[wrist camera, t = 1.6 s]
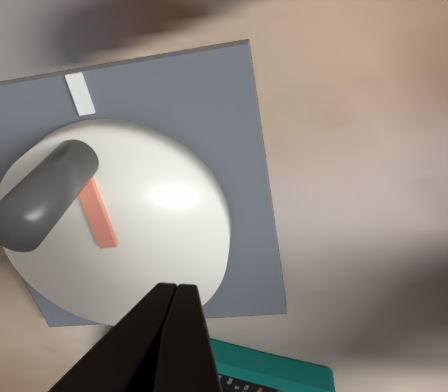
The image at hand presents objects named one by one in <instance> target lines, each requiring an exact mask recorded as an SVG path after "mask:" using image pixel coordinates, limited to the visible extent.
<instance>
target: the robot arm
mask: <svg viewBox="0 0 448 392" xmlns="http://www.w3.org/2000/svg"><path fill="white" fill-rule="evenodd" d="M48 392H223V391H222V387H221V383H220V379H219V375H218V370H217V366H216V362H215V358H214V354H213V349H212V345H211V341H210V337H209V333H208V328H207V324H206V320H205V316H204V312H203V307H202V303H201V299H200V295H199V291H198V287H197V285H195V284H183V283H181V284H179V285H177V284H176V283H167V282H159V283H157V284H156V285H155V286H154V287H153V288H152V289H151V290H150V291H149V292H148V293H147V294H146V295H145V296H144V297H143V298H142V299H141V300H140V301H139V302H138V303H137V304H136V305H135V306H134V307H133V308H132V309H131V310H130V311H129V312H128V313H127V314H126V315H125V316H124V317H123V318H122V319H121V320H120V321H119V322H118V323H117V324H116V325H115V326H114V327H113V328H112V329H111V330H110V331H109V332H108V333H107V334H106V335H105V336H104V337H103V338H102V339H101V340H100V341H98V342H97V343H96V344H95V345H94V346H93V347H92V348H91V349H90V350H89V351H88V352H87V353H86V354H85V355H84V356H83V357H82V358H81V359H80V360H79V361H78V362H77V363H76V364H75V365H74V366H73V367H72V368H71V369H70V370H69V371H68V372H67V373H66V374H65V375H64V376H63V377H62V378H61V379H60V380H59V381H58V382H57V383H56V384H55V385H54V386H53V387H52V388H51V389H50V390H49V391H48Z"/></svg>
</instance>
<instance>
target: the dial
mask: <svg viewBox="0 0 448 392" xmlns="http://www.w3.org/2000/svg"><path fill="white" fill-rule="evenodd" d="M230 239H231V216H230V210H229V206H228V202H227V199H226V196H225V194H224V192H223V190H222V187H221V185H220V184H219V182H218V181H217V179H216V177H215V176H214V174H213V173H212V172H211V170H210V169H209V168H208V167H207V165H206V164H205V163H204V162H203V161H202V160H201V159H200V158H199V157H198V156H197V155H196V154H195V153H194V152H193V151H191V150H190V149H189V148H187V147H186V146H185V145H183V144H182V143H181V142H179V141H177V140H176V139H174V138H172V137H171V136H169V135H167V134H165V133H163V132H161V131H159V130H156V129H154V128H152V127H149V126H146V125H142V124H139V123H136V122H131V121H125V120H119V119H90V120H84V121H79V122H75V123H71V124H69V125H66V126H63V127H61V128H59V129H57V130H55V131H53V132H52V133H50V134H48V135H47V136H46V137H44V138H43V139H42V140H41V141H40V142H38V143H37V144H36V145H35V146H34V147H32V148H31V149H30V150H29V151H28V152H26V153H25V154H24V155H23V156H22V157H20V158H19V159H18V160H17V161H16V162H15V163H14V164H13V165H12V166H11V167H10V169H9V170H8V171H7V172H6V174H5V176H4V178H3V179H2V181H1V183H0V245H1V246H2V247H3V249H4V251H5V253H6V255H7V257H8V258H9V260H10V262H11V263H12V265H13V266H14V268H15V269H16V270H17V271H18V273H19V274H20V275H21V276H22V277H23V278H24V279H25V280H26V281H27V282H28V283H29V285H30V286H31V287H33V288H34V289H35V290H36V291H37V292H39V293H40V294H41V295H42V296H44V297H45V298H47V299H48V300H49V301H51V302H52V303H54V304H56V305H57V306H59V307H61V308H63V309H64V310H66V311H68V312H71V313H73V314H75V315H77V316H80V317H82V318H85V319H88V320H91V321H94V322H98V323H102V324H106V325H112V326H115V325H116V324H117V323H118V322H119V321H120V320H121V319H122V318H123V317H124V316H125V315H126V314H127V313H128V312H129V311H130V310H131V309H132V308H133V307H134V306H135V305H136V304H137V303H138V302H139V301H140V300H141V299H142V298H143V297H144V296H145V295H146V294H147V293H148V292H149V291H150V290H151V289H152V288H153V287H154V286H155V285H156V284H157V283H159V282H167V283H176V284H177V285H179V284H181V283H183V284H195V285H197V287H198V291H199V295H200V299H201V303H202V306H203V305H204V304H205V303H206V302H208V301H209V299H210V298H211V297H212V296H213V295H214V293H215V292H216V290H217V289H218V287H219V285H220V284H221V282H222V279H223V277H224V274H225V271H226V266H227V261H228V254H229V246H230Z"/></svg>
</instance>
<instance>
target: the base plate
mask: <svg viewBox="0 0 448 392" xmlns="http://www.w3.org/2000/svg"><path fill="white" fill-rule="evenodd" d="M90 119H119V120H125V121H131V122H136V123H139V124H142V125H146V126H149V127H152V128H154V129H156V130H159V131H161V132H163V133H165V134H167V135H169V136H171V137H172V138H174V139H176V140H177V141H179V142H181V143H182V144H183V145H185V146H186V147H187V148H189V149H190V150H191V151H193V152H194V153H195V154H196V155H197V156H198V157H199V158H200V159H201V160H202V161H203V162H204V163H205V164H206V165H207V167H208V168H209V169H210V170H211V172H212V173H213V174H214V176H215V177H216V179H217V181H218V182H219V184H220V185H221V187H222V190H223V192H224V194H225V196H226V199H227V202H228V206H229V210H230V216H231V239H230V246H229V254H228V261H227V266H226V271H225V274H224V277H223V279H222V282H221V284H220V285H219V287H218V289H217V290H216V292H215V293H214V295H213V296H212V297H211V298H210V299H209V301H208V302H206V303H205V304H204V305H203V306H202V307H203V312H204V316H205V318H220V317H237V316H255V315H273V314H287V311H286V297H285V290H284V283H283V276H282V269H281V262H280V255H279V248H278V241H277V234H276V226H275V219H274V212H273V205H272V198H271V191H270V184H269V177H268V170H267V163H266V155H265V148H264V141H263V134H262V127H261V120H260V113H259V106H258V99H257V92H256V84H255V77H254V70H253V63H252V56H251V49H250V42H249V39H245V40H240V41H234V42H228V43H222V44H216V45H210V46H205V47H199V48H193V49H187V50H181V51H175V52H169V53H164V54H158V55H152V56H146V57H140V58H134V59H129V60H123V61H117V62H111V63H105V64H99V65H93V66H88V67H82V68H76V69H70V70H64V71H58V72H53V73H47V74H41V75H35V76H30V77H23V78H18V79H12V80H6V81H0V183H1V181H2V179H3V178H4V176H5V174H6V172H7V171H8V170H9V169H10V167H11V166H12V165H13V164H14V163H15V162H16V161H17V160H18V159H19V158H20V157H22V156H23V155H24V154H25V153H26V152H28V151H29V150H30V149H31V148H32V147H34V146H35V145H36V144H37V143H38V142H40V141H41V140H42V139H43V138H44V137H46V136H47V135H48V134H50V133H52V132H53V131H55V130H57V129H59V128H61V127H63V126H66V125H69V124H71V123H75V122H79V121H84V120H90ZM21 277H22V276H21ZM22 278H23V277H22ZM23 280H24V282H25V284H26V286H27V287H28V289H29V291H30V293H31V295H32V297H33V298H34V300H35V302H36V304H37V306H38V307H39V309H40V311H41V313H42V315H43V317H44V318H45V320H46V322H47V324H48V326H49V327H61V326H78V325H96V324H102V323H98V322H94V321H91V320H88V319H85V318H82V317H80V316H77V315H75V314H73V313H71V312H68V311H66V310H64V309H63V308H61V307H59V306H57V305H56V304H54V303H52V302H51V301H49V300H48V299H47V298H45V297H44V296H42V295H41V294H40V293H39V292H37V291H36V290H35V289H34V288H33V287H31V286H30V285H29V283H28V282H27V281H26V280H25V279H24V278H23Z"/></svg>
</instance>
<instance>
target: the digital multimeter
mask: <svg viewBox="0 0 448 392" xmlns="http://www.w3.org/2000/svg"><path fill="white" fill-rule="evenodd" d="M210 341H211V345H212V349H213V354H214V358H215V362H216V366H217V370H218V375H219V379H220V383H221V387H222V391H223V392H335V386H334V379H333V372H332V371H331V370H330V369H328V368H326V367H322V366H318V365H315V364H311V363H307V362H303V361H298V360H294V359H290V358H285V357H281V356H277V355H272V354H268V353H264V352H261V351H257V350H253V349H249V348H245V347H241V346H238V345H234V344H230V343H226V342H222V341H218V340H215V339H212V338H210Z"/></svg>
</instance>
